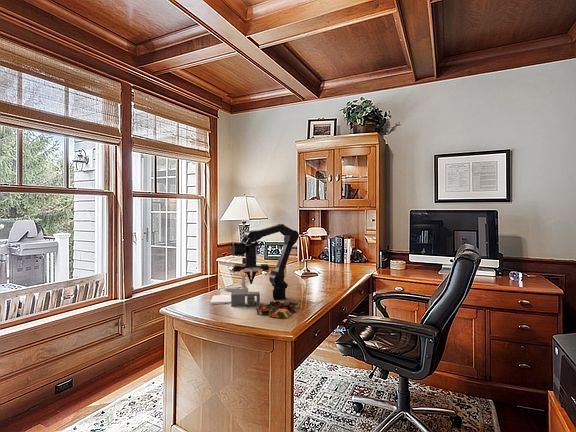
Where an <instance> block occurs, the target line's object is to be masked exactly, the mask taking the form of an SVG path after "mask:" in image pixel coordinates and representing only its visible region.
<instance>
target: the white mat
mask: <svg viewBox="0 0 576 432" xmlns="http://www.w3.org/2000/svg"><path fill="white" fill-rule="evenodd" d="M209 303H210V305H222V304H224V305H225V303H231V294H229V295H228V294H227V295H226V294H225V295H223V294H222V295H212V297H211V300H210V302H209Z"/></svg>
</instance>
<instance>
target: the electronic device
mask: <svg viewBox="0 0 576 432" xmlns="http://www.w3.org/2000/svg"><path fill="white" fill-rule="evenodd" d="M245 277H246V276H245V275H241V286H233V285H232V286H231V285H229V286H224V292H226V291H227V292H226V293H232V292H249V287H248V286H246V279H245Z"/></svg>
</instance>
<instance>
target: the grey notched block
mask: <svg viewBox="0 0 576 432" xmlns="http://www.w3.org/2000/svg"><path fill="white" fill-rule="evenodd" d="M230 293H231V294H230V295H231V304H230V306H231V307H245V306H246V297H247V296H255V297H256V307H257V306H258V307H260V306H261V302H260V301H261V295H260V291H248V292H230Z"/></svg>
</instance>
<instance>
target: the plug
mask: <svg viewBox="0 0 576 432" xmlns="http://www.w3.org/2000/svg"><path fill="white" fill-rule="evenodd" d="M255 299H256V296H246V304H247V307H248V308H250V307H252V308H254V307H255V305H256V304H255V303H256V302H255V301H256V300H255Z"/></svg>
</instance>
